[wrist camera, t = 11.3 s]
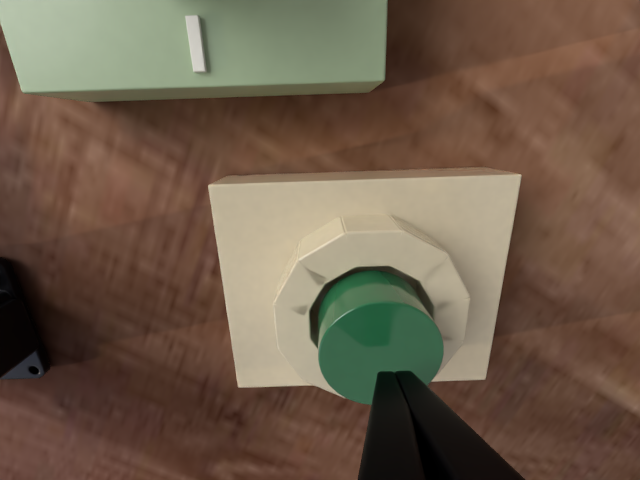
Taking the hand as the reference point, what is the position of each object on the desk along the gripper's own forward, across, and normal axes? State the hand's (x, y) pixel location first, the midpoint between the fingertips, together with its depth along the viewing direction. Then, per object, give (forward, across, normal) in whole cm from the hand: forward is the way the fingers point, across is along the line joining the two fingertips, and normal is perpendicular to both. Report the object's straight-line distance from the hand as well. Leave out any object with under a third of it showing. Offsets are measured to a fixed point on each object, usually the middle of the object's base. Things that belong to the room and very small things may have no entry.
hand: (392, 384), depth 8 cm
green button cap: (+3, 0, 0) cm, 3 cm away
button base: (+7, 0, 0) cm, 7 cm away
